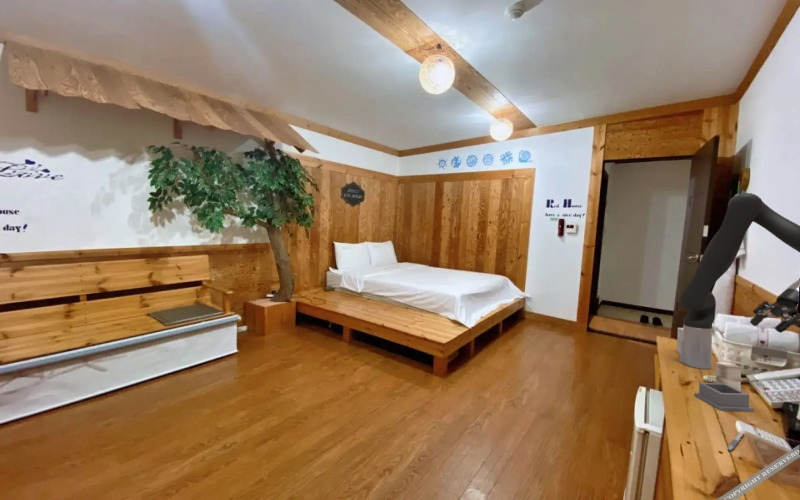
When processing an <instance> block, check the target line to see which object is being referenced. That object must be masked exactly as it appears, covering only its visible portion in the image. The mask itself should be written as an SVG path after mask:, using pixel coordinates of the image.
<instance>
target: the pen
mask: <svg viewBox="0 0 800 500" xmlns="http://www.w3.org/2000/svg"><path fill="white" fill-rule="evenodd" d="M741 437H742V434H741V433H739V432H738V433H737V435H735V437H734V438H733V439H732V441H731V442H730V443H729V444H728V447H727V450H728V451H733V450H734V449H735V448H736V446H737V445H738V444H739V442H740V441H741V439H742V438H743V437H742V438H741ZM740 438H741V439H740ZM739 440H740V441H739ZM732 449H733V450H732Z"/></svg>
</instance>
